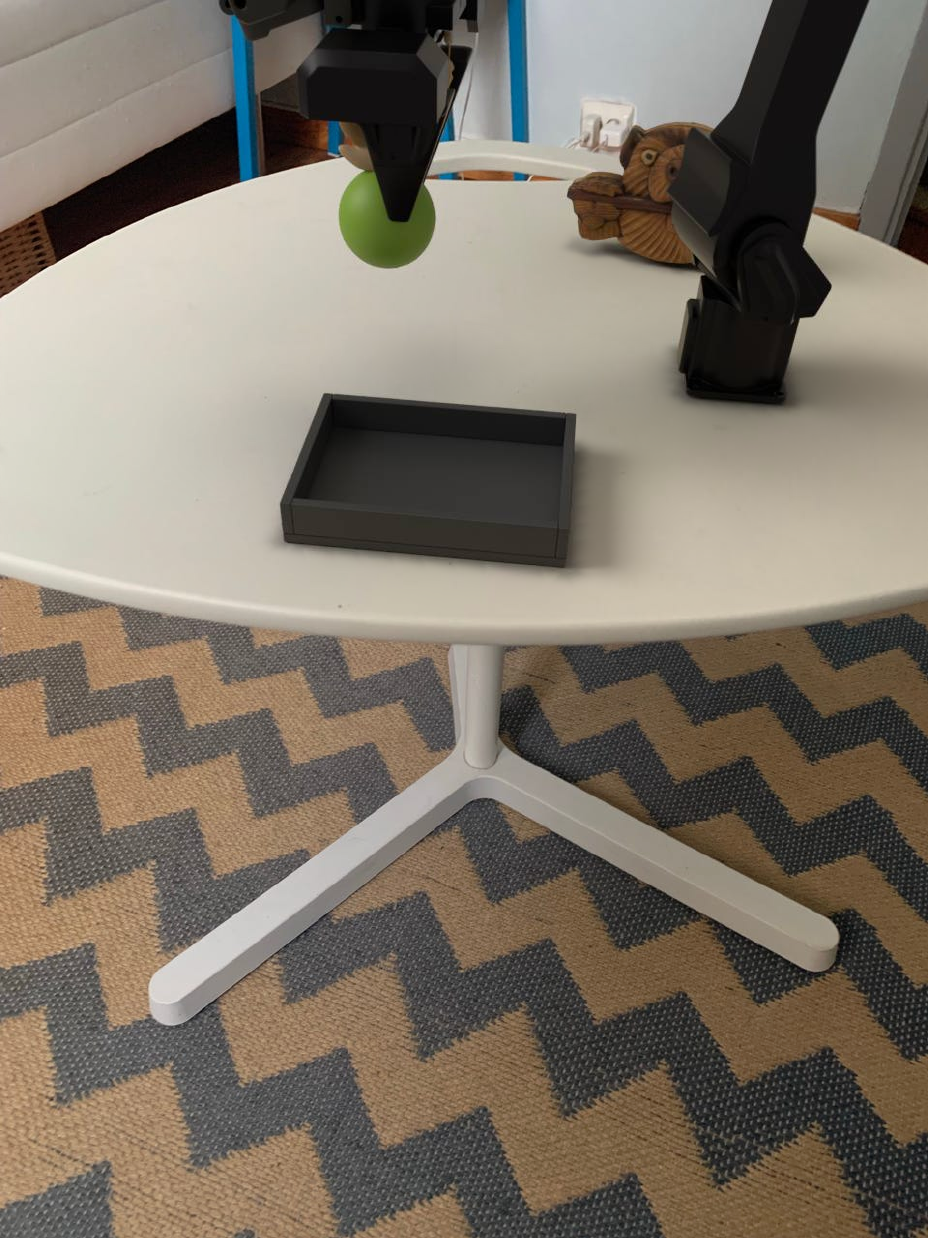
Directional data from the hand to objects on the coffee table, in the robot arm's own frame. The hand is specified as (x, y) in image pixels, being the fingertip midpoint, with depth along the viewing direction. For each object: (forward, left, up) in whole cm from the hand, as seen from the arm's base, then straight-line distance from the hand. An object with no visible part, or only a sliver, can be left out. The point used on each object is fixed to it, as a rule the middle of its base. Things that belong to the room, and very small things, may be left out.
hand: (404, 207), depth 58 cm
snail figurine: (+1, 0, -4) cm, 4 cm away
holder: (-3, +9, -13) cm, 16 cm away
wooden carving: (-17, -25, -13) cm, 33 cm away
